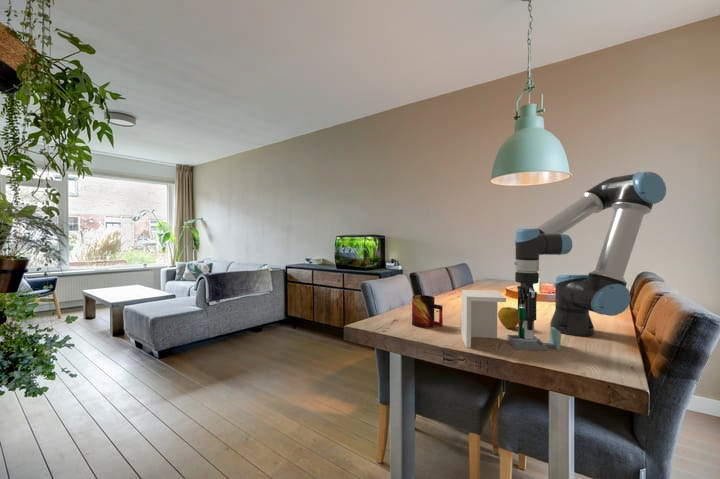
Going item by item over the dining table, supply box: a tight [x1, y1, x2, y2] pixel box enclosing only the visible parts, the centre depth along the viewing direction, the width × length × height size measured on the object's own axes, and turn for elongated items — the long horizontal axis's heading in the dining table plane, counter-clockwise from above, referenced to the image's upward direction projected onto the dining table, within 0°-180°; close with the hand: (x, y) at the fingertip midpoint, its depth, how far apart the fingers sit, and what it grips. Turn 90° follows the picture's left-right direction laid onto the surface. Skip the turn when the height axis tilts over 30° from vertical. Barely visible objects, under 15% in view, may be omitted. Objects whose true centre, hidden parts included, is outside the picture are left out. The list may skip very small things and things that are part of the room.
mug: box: [411, 294, 444, 329], centre depth 143 cm, size 10×14×12 cm
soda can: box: [517, 303, 531, 340], centre depth 118 cm, size 5×5×12 cm
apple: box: [497, 306, 518, 330], centre depth 139 cm, size 9×9×9 cm
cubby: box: [461, 289, 507, 349], centre depth 120 cm, size 13×13×18 cm
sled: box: [507, 326, 562, 352], centre depth 117 cm, size 15×10×6 cm
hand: (526, 335), depth 118 cm, fingers open, 5 cm apart
